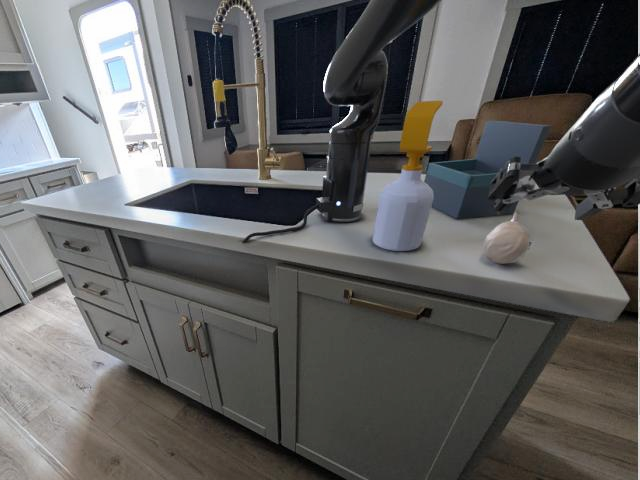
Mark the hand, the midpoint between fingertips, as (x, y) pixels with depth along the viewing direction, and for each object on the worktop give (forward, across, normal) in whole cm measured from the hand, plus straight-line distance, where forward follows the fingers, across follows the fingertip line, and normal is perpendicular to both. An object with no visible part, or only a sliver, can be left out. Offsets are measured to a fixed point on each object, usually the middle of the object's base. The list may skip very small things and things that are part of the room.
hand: (537, 211), depth 43 cm
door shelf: (+34, +4, -18) cm, 39 cm away
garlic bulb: (+13, 0, +3) cm, 13 cm away
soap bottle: (+15, +17, +1) cm, 23 cm away
